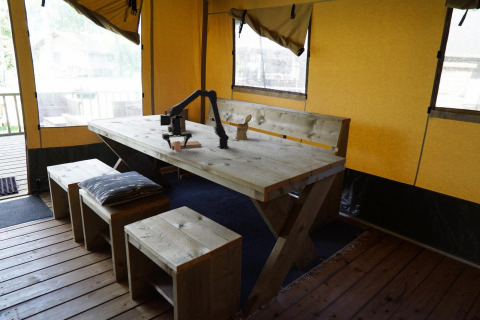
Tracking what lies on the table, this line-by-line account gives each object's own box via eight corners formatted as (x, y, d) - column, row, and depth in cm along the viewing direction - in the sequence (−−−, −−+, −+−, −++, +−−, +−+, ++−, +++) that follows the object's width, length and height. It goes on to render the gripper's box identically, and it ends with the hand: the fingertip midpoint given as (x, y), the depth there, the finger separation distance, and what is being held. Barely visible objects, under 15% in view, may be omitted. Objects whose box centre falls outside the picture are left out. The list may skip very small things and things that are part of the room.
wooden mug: (254, 138, 258) (254, 115, 253) (240, 140, 250) (240, 116, 245) (247, 136, 265) (247, 113, 260) (233, 138, 257) (233, 114, 252)
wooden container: (164, 130, 282) (163, 104, 276) (179, 128, 292) (178, 102, 285) (173, 133, 272) (172, 106, 265) (189, 131, 281) (188, 104, 275)
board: (201, 146, 230) (201, 143, 230) (172, 149, 223) (172, 146, 223) (197, 143, 239) (197, 140, 239) (169, 145, 232) (169, 142, 232)
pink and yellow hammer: (180, 150, 221) (180, 142, 219) (175, 151, 219) (175, 142, 218) (177, 145, 232) (176, 138, 231) (171, 146, 231) (171, 138, 229)
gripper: (187, 122, 227) (188, 144, 232) (160, 123, 221) (161, 146, 225) (191, 125, 218) (192, 148, 222) (162, 126, 211) (164, 150, 215)
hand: (177, 148), depth 221 cm, fingers open, 9 cm apart
